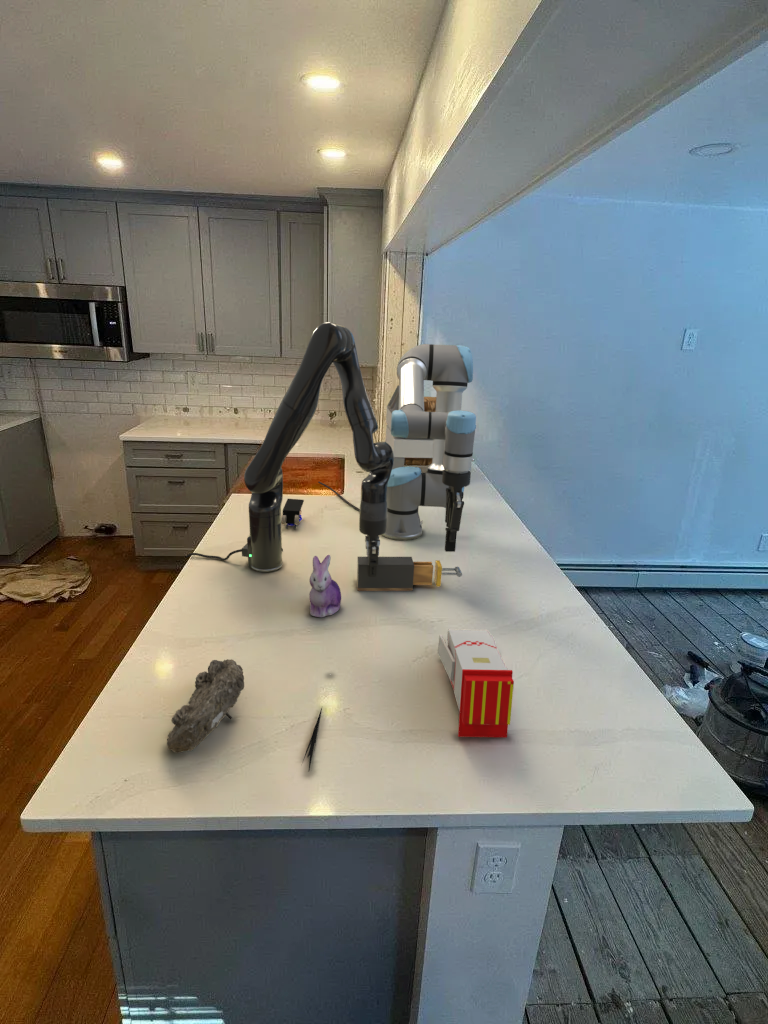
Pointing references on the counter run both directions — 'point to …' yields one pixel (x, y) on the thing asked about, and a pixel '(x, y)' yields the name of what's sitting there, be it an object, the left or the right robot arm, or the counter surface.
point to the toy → (478, 682)
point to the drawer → (431, 573)
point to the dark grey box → (386, 574)
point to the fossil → (206, 705)
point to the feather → (313, 740)
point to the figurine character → (292, 512)
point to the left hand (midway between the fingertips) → (371, 571)
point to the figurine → (323, 590)
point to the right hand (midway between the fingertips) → (449, 550)
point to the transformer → (409, 448)
